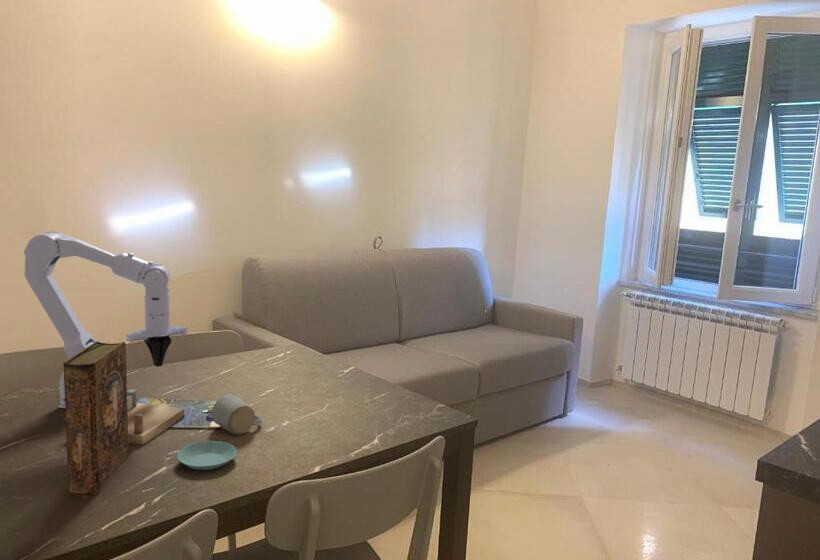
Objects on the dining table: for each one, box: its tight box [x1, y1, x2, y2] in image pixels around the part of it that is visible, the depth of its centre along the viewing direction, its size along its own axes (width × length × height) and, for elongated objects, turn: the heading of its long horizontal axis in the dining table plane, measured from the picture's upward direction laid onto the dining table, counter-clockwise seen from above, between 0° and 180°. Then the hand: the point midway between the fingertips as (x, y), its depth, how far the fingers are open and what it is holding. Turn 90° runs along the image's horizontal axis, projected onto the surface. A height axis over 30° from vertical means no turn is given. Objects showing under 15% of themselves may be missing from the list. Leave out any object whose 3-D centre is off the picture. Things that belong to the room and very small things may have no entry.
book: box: [63, 340, 129, 497], centre depth 121 cm, size 16×6×25 cm, turn 5°
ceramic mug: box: [211, 393, 263, 435], centre depth 148 cm, size 11×8×8 cm
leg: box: [127, 389, 138, 410], centre depth 148 cm, size 14×3×4 cm, turn 171°
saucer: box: [176, 440, 238, 471], centre depth 131 cm, size 12×12×2 cm
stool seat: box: [127, 402, 185, 445], centre depth 147 cm, size 17×17×6 cm
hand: (158, 365), depth 161 cm, fingers closed
